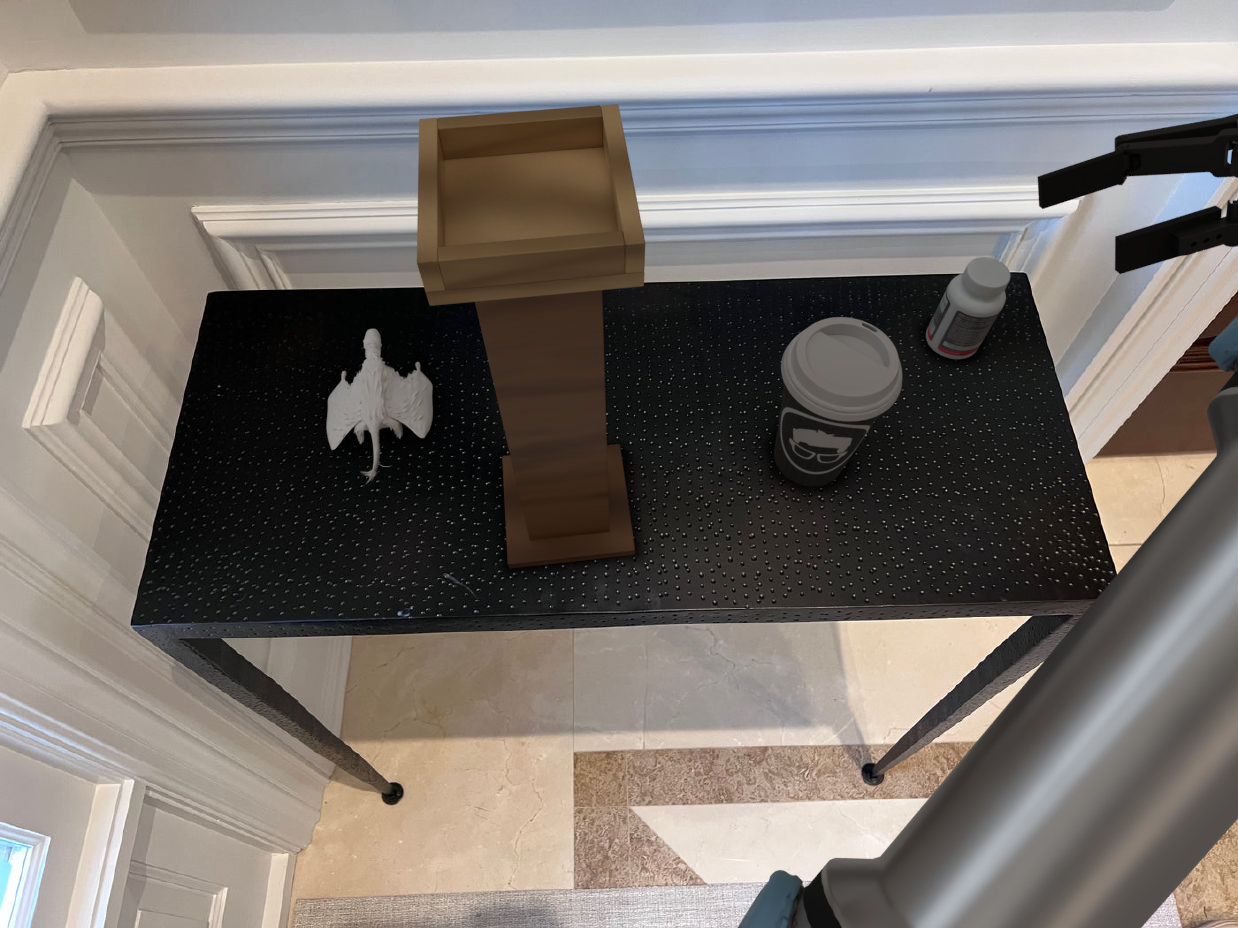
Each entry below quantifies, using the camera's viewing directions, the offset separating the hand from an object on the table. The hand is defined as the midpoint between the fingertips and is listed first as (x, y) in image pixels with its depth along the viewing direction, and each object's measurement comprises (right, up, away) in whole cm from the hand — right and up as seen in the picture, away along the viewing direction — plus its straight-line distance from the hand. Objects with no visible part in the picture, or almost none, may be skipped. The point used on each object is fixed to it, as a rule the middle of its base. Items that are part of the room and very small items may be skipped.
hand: (1074, 221), depth 62 cm
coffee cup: (-18, -19, +12) cm, 29 cm away
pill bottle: (-2, -7, +19) cm, 20 cm away
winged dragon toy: (-59, -15, +14) cm, 63 cm away
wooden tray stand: (-41, -23, +9) cm, 48 cm away
